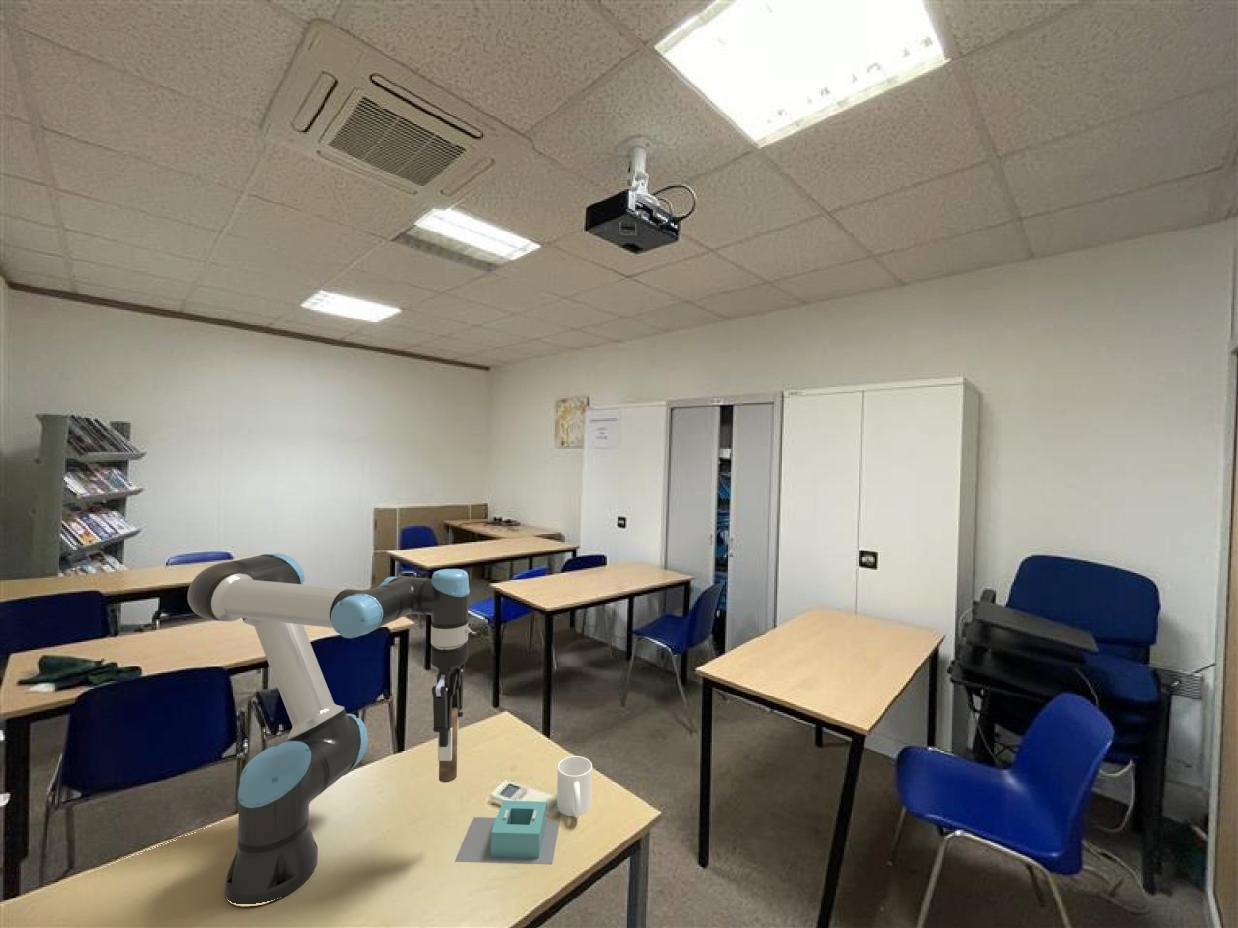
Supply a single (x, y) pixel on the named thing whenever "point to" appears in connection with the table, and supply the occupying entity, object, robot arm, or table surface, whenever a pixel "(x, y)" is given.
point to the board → (479, 844)
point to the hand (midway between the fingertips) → (448, 754)
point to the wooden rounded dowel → (450, 767)
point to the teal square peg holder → (519, 829)
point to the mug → (574, 786)
